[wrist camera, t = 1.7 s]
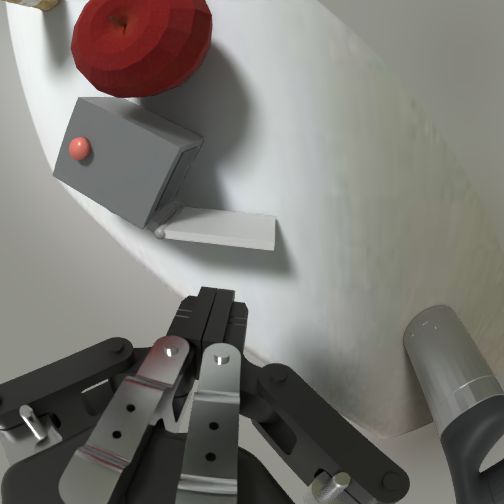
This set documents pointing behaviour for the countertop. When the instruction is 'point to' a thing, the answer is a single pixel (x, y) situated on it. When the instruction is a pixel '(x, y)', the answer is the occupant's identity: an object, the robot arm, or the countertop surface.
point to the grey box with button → (126, 158)
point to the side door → (219, 228)
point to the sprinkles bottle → (36, 3)
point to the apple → (140, 44)
